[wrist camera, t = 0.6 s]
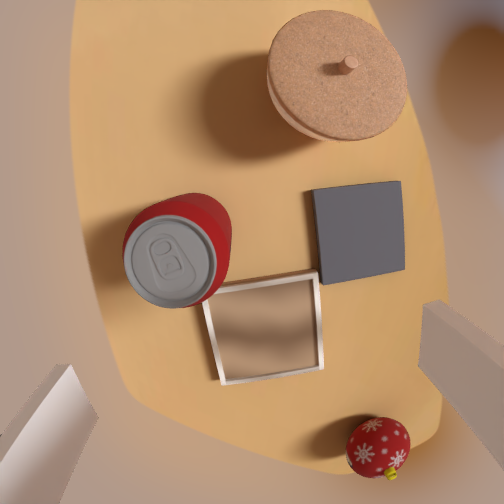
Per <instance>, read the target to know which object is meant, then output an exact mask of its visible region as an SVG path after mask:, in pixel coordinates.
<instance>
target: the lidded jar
mask: <svg viewBox="0 0 504 504" xmlns="http://www.w3.org/2000/svg"><path fill="white" fill-rule="evenodd" d="M267 65H268V67H267V84H268V89H269V94H270V96H271V99H272V102H273V104H274V105H275V107H276V109H277V111H278V112H279V113H280V115H281V116H282V117H283V118H284V119H285V120H286V121H287V122H288V123H289V124H290V125H291V126H292V127H294V128H295V129H296V130H298V131H300V132H301V133H303V134H305V135H307V136H309V137H312V138H315V139H318V140H323V141H330V142H346V141H357V140H363V139H367V138H371V137H374V136H376V135H378V134H380V133H382V132H384V131H385V130H386V129H388V128H389V127H390V126H391V125H392V124H393V123H394V122H395V121H396V120H397V118H398V117H399V115H400V114H401V112H402V109H403V107H404V104H405V100H406V95H407V81H406V74H405V71H404V67H403V64H402V62H401V59H400V57H399V55H398V53H397V52H396V50H395V49H394V47H393V46H392V44H391V43H390V42H389V40H388V39H387V38H386V37H385V36H384V35H383V34H382V33H381V32H380V31H379V30H377V29H376V28H375V27H374V26H372V25H371V24H369V23H367V22H366V21H364V20H362V19H360V18H358V17H356V16H353V15H350V14H347V13H343V12H338V11H331V10H320V11H312V12H308V13H305V14H301V15H299V16H297V17H295V18H293V19H292V20H290V21H289V22H287V23H286V24H285V25H284V26H283V27H282V28H281V29H280V30H279V31H278V33H277V34H276V36H275V38H274V39H273V42H272V44H271V47H270V50H269V55H268V61H267Z"/></svg>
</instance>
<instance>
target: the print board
mask: <svg viewBox="0 0 504 504" xmlns="http://www.w3.org/2000/svg"><path fill="white" fill-rule="evenodd" d="M202 305H203V309H204V314H205V318H206V323H207V327H208V331H209V336H210V340H211V344H212V348H213V353H214V357H215V361H216V365H217V369H218V373H219V377H220V381H221V385H230V384H239V383H246V382H254V381H260V380H267V379H273V378H280V377H286V376H291V375H297V374H302V373H307V372H313V371H317V370H322V369H324V357H323V337H322V320H321V305H320V292H319V279H318V272H317V271H316V270H315V268H314V269H308V270H301V271H295V272H289V273H283V274H277V275H270V276H264V277H257V278H251V279H244V280H238V281H231V282H224V283H222V285H221V286H220V287H219V289H218V290H217V291H216V292H215V293H214V294H213V295H212V296H211V297H210V298H208V299H207V300H205V301H204V302H202Z"/></svg>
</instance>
